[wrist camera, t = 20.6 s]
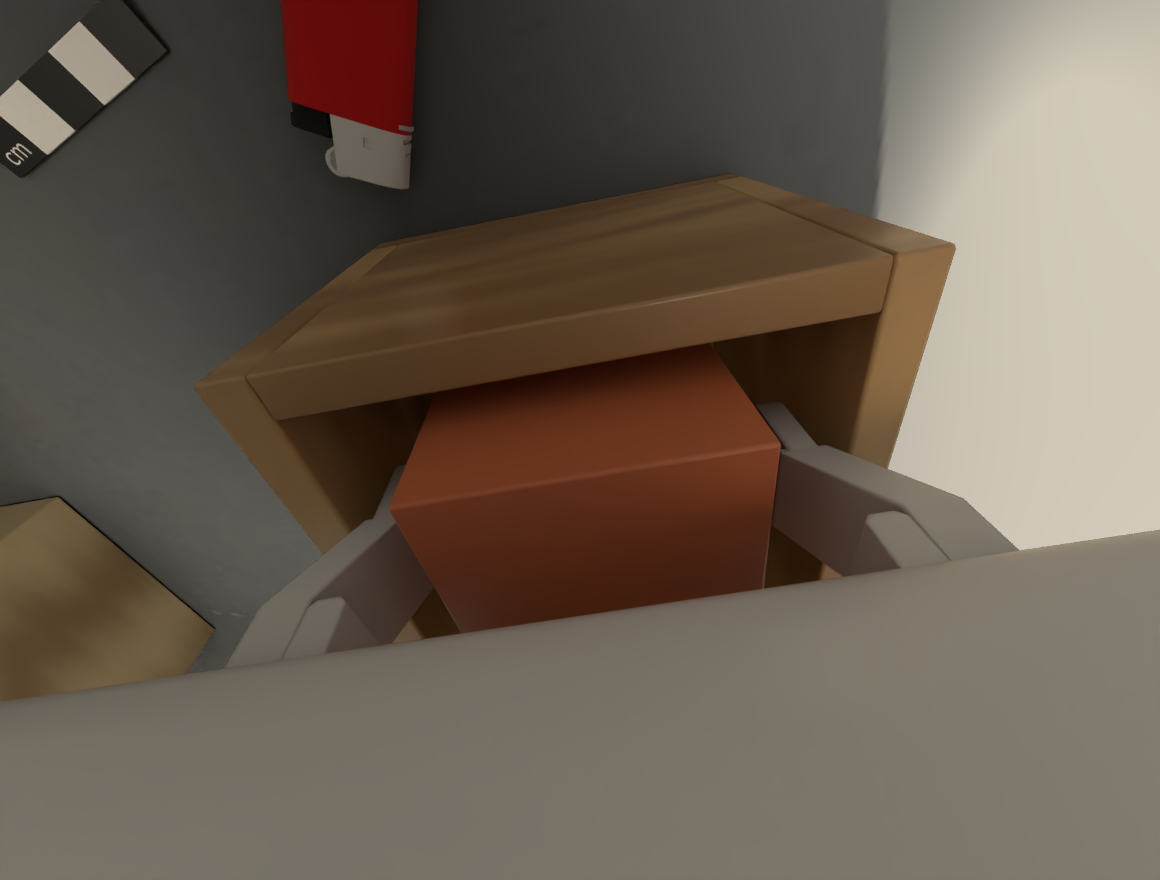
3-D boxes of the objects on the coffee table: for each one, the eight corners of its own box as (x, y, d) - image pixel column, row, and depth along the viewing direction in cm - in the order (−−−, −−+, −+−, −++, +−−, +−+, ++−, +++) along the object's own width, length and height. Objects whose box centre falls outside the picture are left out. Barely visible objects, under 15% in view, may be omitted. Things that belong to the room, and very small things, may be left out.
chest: (379, 242, 13) (188, 386, 6) (733, 172, 13) (960, 242, 6) (501, 541, 21) (477, 754, 14) (723, 506, 21) (814, 709, 14)
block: (453, 345, 10) (385, 509, 6) (682, 303, 9) (783, 443, 5) (512, 508, 13) (494, 692, 9) (688, 479, 12) (756, 655, 8)
